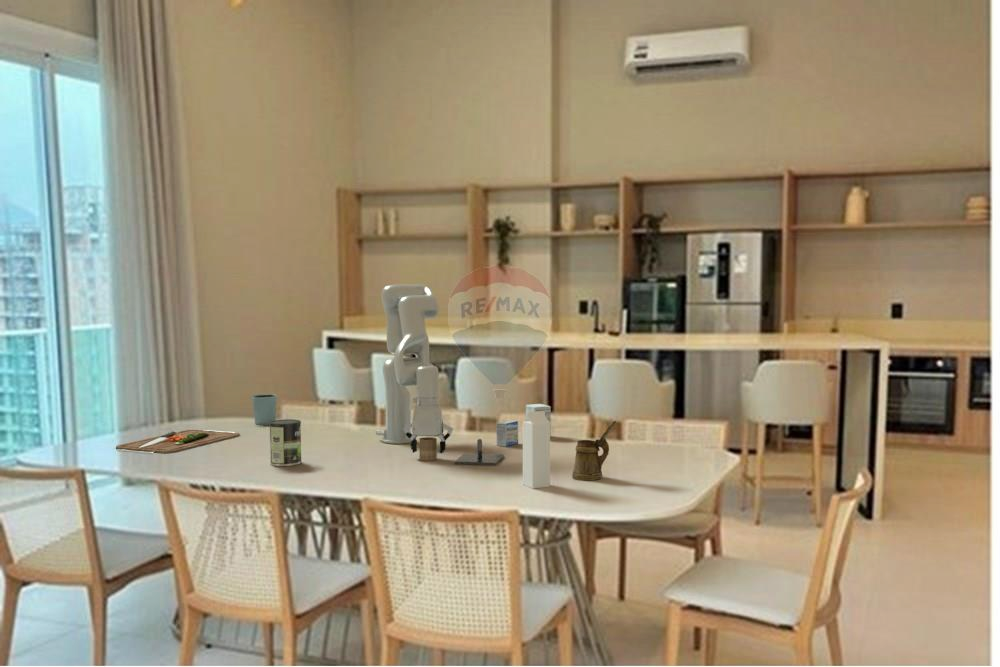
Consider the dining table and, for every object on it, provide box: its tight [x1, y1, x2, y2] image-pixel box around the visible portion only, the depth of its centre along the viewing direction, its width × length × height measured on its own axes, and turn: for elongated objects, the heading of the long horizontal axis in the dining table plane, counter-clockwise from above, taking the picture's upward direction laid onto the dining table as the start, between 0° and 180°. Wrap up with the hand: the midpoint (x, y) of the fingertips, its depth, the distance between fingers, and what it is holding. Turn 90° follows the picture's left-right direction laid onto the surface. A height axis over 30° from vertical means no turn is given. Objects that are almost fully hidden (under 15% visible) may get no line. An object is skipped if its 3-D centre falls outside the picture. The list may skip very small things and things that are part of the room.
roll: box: [418, 436, 438, 462], centre depth 291 cm, size 6×6×7 cm
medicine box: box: [495, 419, 519, 448], centre depth 316 cm, size 8×4×9 cm, turn 143°
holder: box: [454, 438, 505, 467], centre depth 288 cm, size 14×14×7 cm
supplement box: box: [525, 403, 552, 439], centre depth 331 cm, size 7×7×13 cm
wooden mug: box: [571, 420, 617, 482], centre depth 261 cm, size 9×14×18 cm, turn 71°
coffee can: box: [269, 418, 302, 467], centre depth 285 cm, size 10×10×14 cm
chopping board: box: [115, 429, 241, 455], centre depth 325 cm, size 45×27×3 cm, turn 158°
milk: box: [522, 411, 551, 490], centre depth 251 cm, size 6×6×22 cm
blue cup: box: [251, 393, 277, 426], centre depth 368 cm, size 10×10×12 cm
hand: (428, 452), depth 291 cm, fingers open, 9 cm apart
